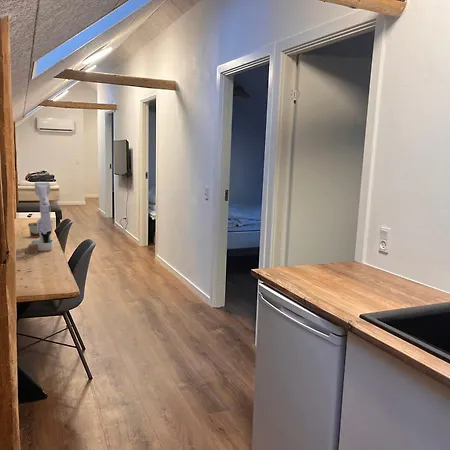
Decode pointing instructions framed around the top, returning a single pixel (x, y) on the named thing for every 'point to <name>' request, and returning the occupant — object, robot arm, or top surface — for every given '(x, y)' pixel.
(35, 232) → the food container
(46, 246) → the tote
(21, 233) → the top surface
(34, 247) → the walnut cube
